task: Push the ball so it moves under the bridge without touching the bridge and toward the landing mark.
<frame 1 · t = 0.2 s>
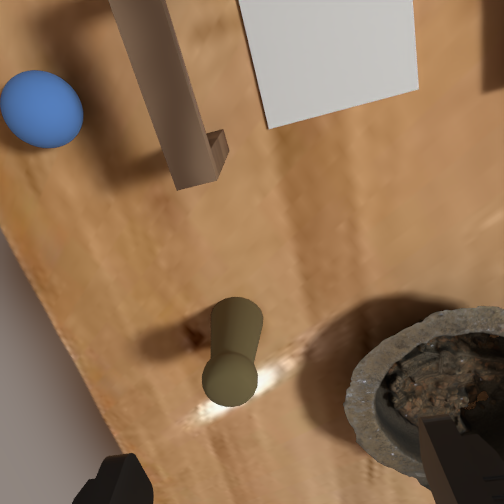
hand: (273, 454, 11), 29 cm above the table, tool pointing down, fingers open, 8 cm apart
ball: (43, 110, 32), on the table
olive tall rounded piece: (237, 318, 44), on the table
landing mark: (328, 26, 31), on the table
bridge: (187, 68, 33), on the table
stone bowl: (440, 362, 47), on the table
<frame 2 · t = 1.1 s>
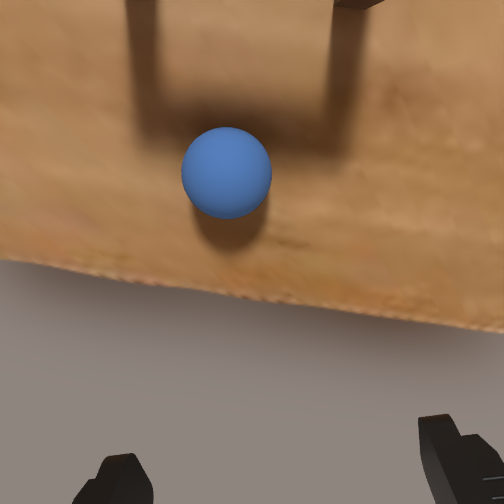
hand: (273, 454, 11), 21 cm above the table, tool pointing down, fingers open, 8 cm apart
ball: (226, 174, 26), on the table
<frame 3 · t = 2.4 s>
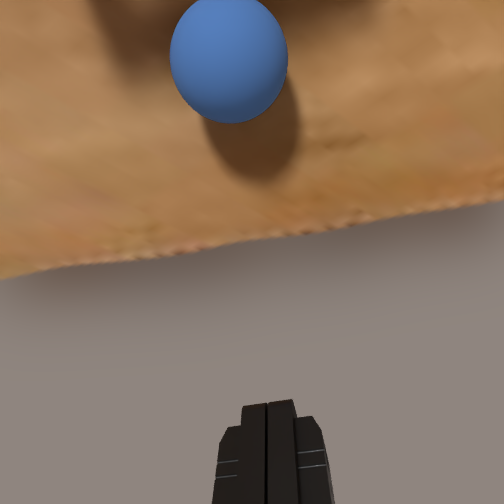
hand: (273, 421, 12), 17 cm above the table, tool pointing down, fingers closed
ball: (229, 62, 20), on the table
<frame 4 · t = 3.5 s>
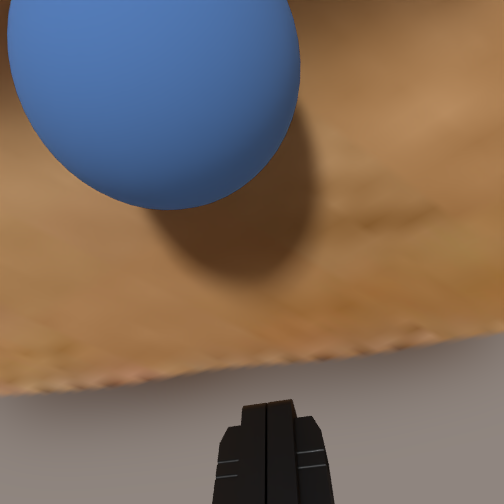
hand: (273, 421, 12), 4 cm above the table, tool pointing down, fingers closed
ball: (165, 75, 9), on the table
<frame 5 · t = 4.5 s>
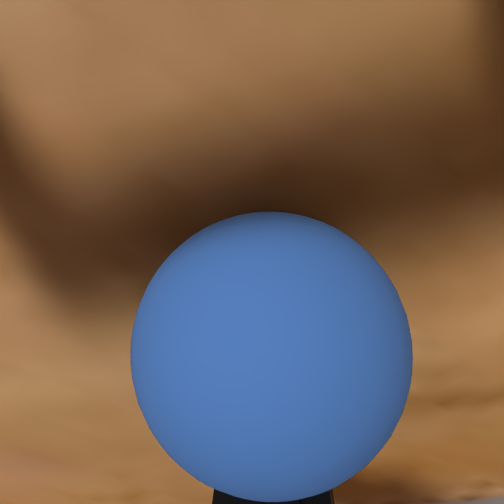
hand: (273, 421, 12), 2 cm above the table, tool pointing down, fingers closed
ball: (269, 344, 9), on the table, touching gripper
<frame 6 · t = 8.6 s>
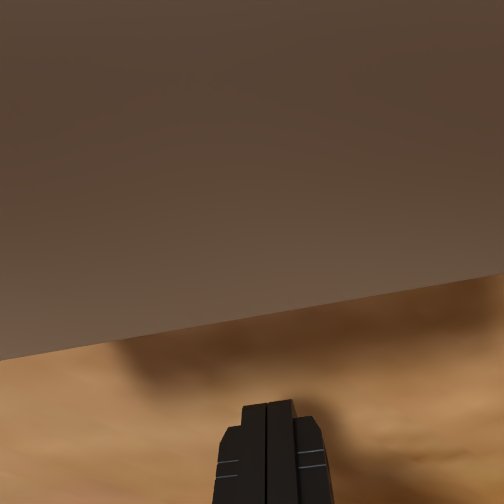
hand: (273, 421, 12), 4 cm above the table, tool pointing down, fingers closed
bridge: (219, 86, 11), on the table
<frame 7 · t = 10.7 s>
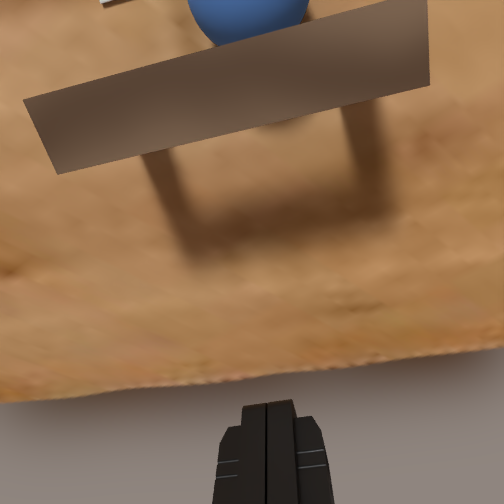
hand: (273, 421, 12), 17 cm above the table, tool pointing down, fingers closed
bridge: (238, 79, 23), on the table
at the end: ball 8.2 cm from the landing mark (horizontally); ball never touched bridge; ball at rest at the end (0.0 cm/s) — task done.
